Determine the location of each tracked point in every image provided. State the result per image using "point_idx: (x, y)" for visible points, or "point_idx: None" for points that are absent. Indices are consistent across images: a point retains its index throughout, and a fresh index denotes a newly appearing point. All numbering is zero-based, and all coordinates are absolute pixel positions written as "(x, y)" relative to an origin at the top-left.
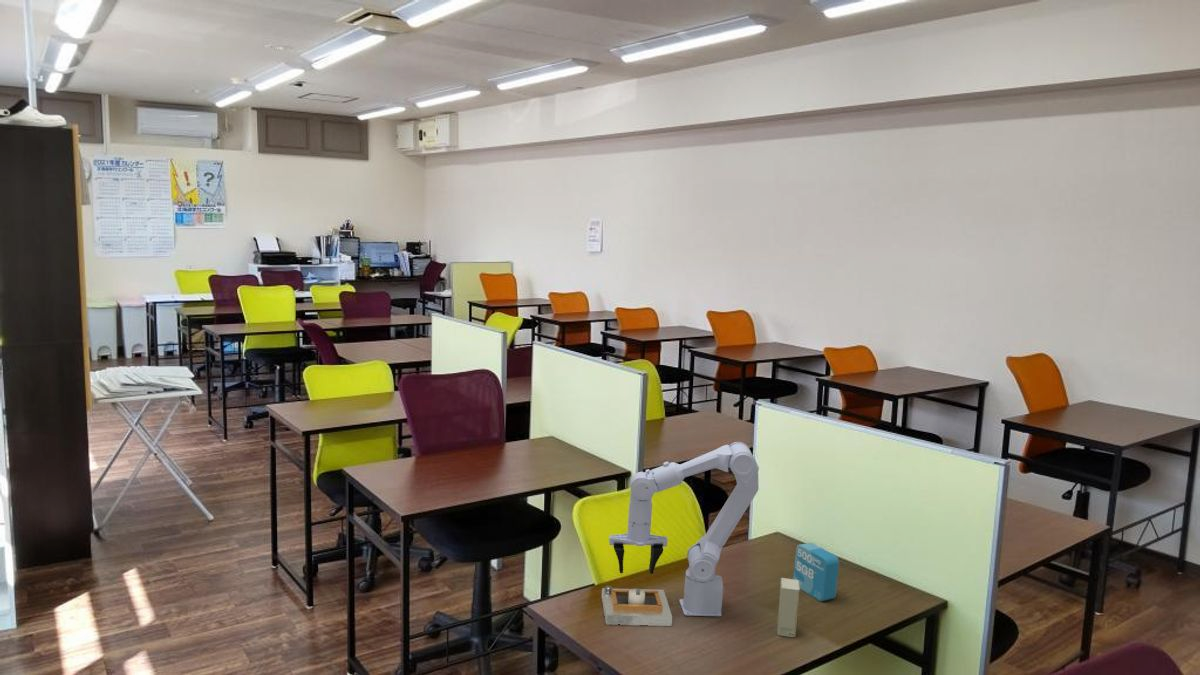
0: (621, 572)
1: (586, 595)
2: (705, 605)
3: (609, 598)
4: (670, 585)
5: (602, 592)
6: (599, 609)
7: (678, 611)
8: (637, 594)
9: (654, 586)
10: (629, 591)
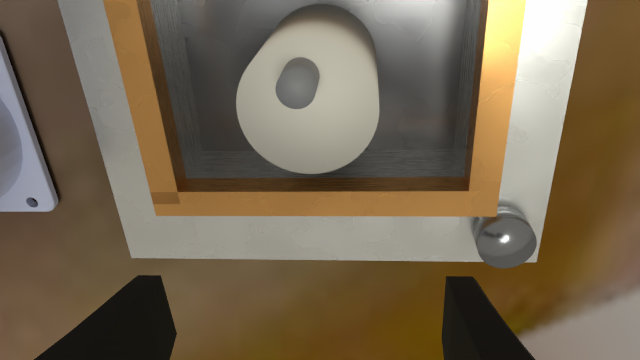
0: (463, 279)
1: (608, 243)
2: None
3: (517, 127)
4: None
5: (539, 222)
6: None
7: (48, 87)
8: (304, 59)
9: (206, 336)
10: (373, 121)
